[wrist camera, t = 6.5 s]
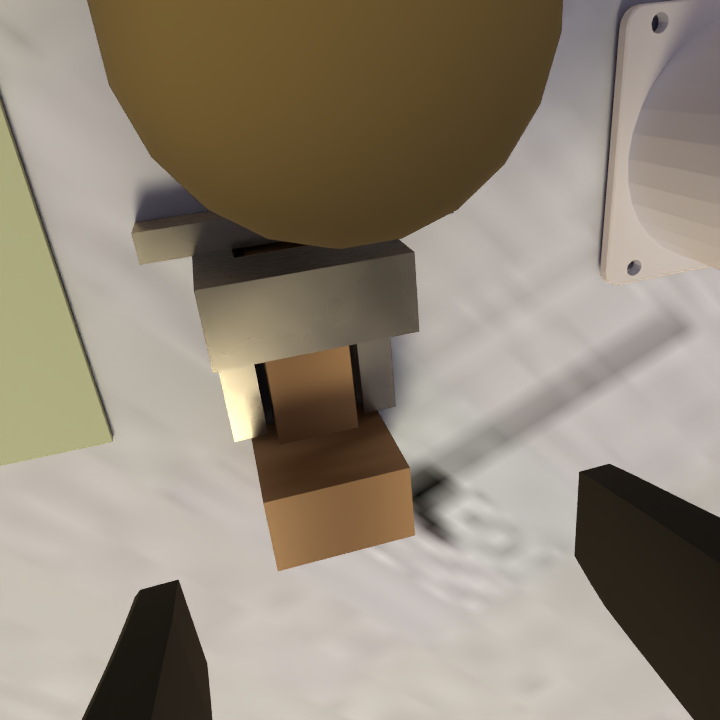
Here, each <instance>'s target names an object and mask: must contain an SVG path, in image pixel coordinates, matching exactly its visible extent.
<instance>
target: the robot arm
mask: <svg viewBox="0 0 720 720" xmlns="http://www.w3.org/2000/svg"><path fill="white" fill-rule="evenodd" d="M655 15H657V16H658V20H659V24H658V27H657V29H656V30H655V32H654V31H653V30H652V25H651V23H652V20H653V17H654V16H655ZM632 261H634V264H633V267H632V268H631V269H630V270H629V271H627V267H628V265H629V264H630V263H631V262H632ZM710 266H711V267H713V268H716V269H719V270H720V0H674V1H665V2H655V3H646V4H638V5H635V6H632V7H630V8H629V9H628V10H627V11H626V12H625V14H624V16H623V17H622V19H621V23H620V28H619V41H618V53H617V66H616V78H615V91H614V104H613V116H612V129H611V141H610V154H609V167H608V179H607V192H606V204H605V217H604V229H603V242H602V255H601V267H600V272H601V276H602V278H603V280H605V281H607V282H609V283H611V284H613V285H619V284H624V283H629V282H634V281H639V280H644V279H649V278H655V277H660V276H665V275H670V274H675V273H680V272H685V271H690V270H695V269H700V268H705V267H710ZM575 557H576V559H577V561H578V563H579V564H580V566H581V568H582V569H583V571H584V573H585V575H586V576H587V578H588V580H589V581H590V583H591V585H592V586H593V588H594V590H595V591H596V593H597V594H598V596H599V598H600V599H601V601H602V602H603V604H604V605H605V607H606V608H607V610H608V611H609V612H610V613H611V615H612V616H613V617H614V619H615V620H616V621H617V623H618V624H619V625H620V626H621V628H622V629H623V630H624V632H625V633H626V634H627V635H628V637H629V638H630V639H631V641H632V642H633V643H634V645H635V646H636V647H637V648H638V650H639V651H640V652H641V653H642V655H643V656H644V657H645V658H646V660H647V661H648V662H649V664H650V665H651V666H652V667H653V669H654V670H655V671H656V672H657V674H658V675H659V676H660V677H661V679H662V680H663V681H664V683H665V684H666V685H667V686H668V688H669V689H670V690H671V691H672V693H673V694H674V695H675V696H676V698H677V699H678V700H679V702H680V703H681V704H682V705H683V707H684V708H685V709H686V710H687V712H688V713H689V714H690V716H691V717H692V718H693V719H694V720H720V517H718V516H715V515H713V514H711V513H709V512H707V511H705V510H703V509H701V508H699V507H697V506H695V505H693V504H691V503H689V502H687V501H685V500H683V499H681V498H679V497H677V496H675V495H673V494H671V493H669V492H667V491H665V490H663V489H661V488H659V487H657V486H655V485H653V484H651V483H649V482H647V481H645V480H643V479H641V478H639V477H637V476H635V475H633V474H630V473H628V472H626V471H624V470H622V469H620V468H618V467H615V466H613V465H611V464H607V465H603V466H599V467H596V468H592V469H588V470H584V471H581V472H579V485H578V503H577V521H576V539H575ZM82 720H212V711H211V698H210V688H209V677H208V667H207V662H206V659H205V656H204V653H203V650H202V647H201V644H200V641H199V638H198V635H197V632H196V630H195V627H194V624H193V621H192V618H191V615H190V612H189V609H188V606H187V603H186V600H185V597H184V594H183V591H182V589H181V586H180V583H179V580H175V581H172V582H168V583H164V584H160V585H157V586H153V587H149V588H146V589H142V590H140V591H139V592H138V594H137V595H136V596H135V598H134V601H133V604H132V606H131V609H130V611H129V614H128V617H127V619H126V622H125V624H124V627H123V629H122V632H121V634H120V636H119V639H118V641H117V644H116V646H115V648H114V651H113V653H112V655H111V657H110V660H109V662H108V664H107V667H106V669H105V671H104V673H103V676H102V678H101V680H100V682H99V684H98V686H97V688H96V691H95V693H94V695H93V697H92V699H91V701H90V703H89V705H88V708H87V710H86V712H85V714H84V716H83V718H82Z"/></svg>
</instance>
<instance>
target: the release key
mask: <svg viewBox="0 0 720 720" xmlns="http://www.w3.org/2000/svg"><path fill="white" fill-rule="evenodd" d="M302 246H308V245H306V244H299V243H292V242H285V241H280V242H274V243H268V244H262V245H256V246H250V247H244V248H242V251H243V256H248V255H254V254H260V253H266V252H272V251H278V250H284V249H290V248H296V247H302ZM264 368H265V373H266V378H267V384H268V389H269V394H270V400H271V405H272V410H273V415H274V421H275V423H272V424H267V425H266V427H267V432H268V435H263V436H259V437H254V438H252V443H253V449H254V454H255V460H256V465H257V470H258V476H259V481H260V487H261V492H262V498H263V503H264V508H265V512H266V517H267V522H268V527H269V531H270V536H271V541H272V545H273V550H274V555H275V559H276V564H277V569H278V571H281V570H284V569H288V568H292V567H296V566H300V565H303V564H307V563H311V562H315V561H319V560H323V559H326V558H330V557H334V556H338V555H342V554H345V553H349V552H353V551H357V550H361V549H364V548H368V547H372V546H376V545H380V544H383V543H387V542H391V541H395V540H399V539H403V538H406V537H410V536H414V535H415V530H414V516H413V503H412V490H411V477H410V467H409V465H408V464H407V462H406V460H405V458H404V457H403V455H402V453H401V451H400V450H399V448H398V446H397V444H396V443H395V441H394V439H393V437H392V435H391V434H390V432H389V430H388V428H387V427H386V425H385V423H384V421H383V420H382V418H381V416H380V414H379V412H378V411H377V410H376V411H372V412H367V413H364V411H363V409H362V407H361V405H360V404H359V405H356V402H355V393H354V385H353V376H352V368H351V359H350V351H349V346H344V347H339V348H334V349H329V350H324V351H319V352H313V353H308V354H303V355H298V356H293V357H288V358H283V359H278V360H273V361H268V362H264Z"/></svg>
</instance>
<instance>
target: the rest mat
mask: <svg viewBox="0 0 720 720" xmlns="http://www.w3.org/2000/svg"><path fill="white" fill-rule="evenodd" d="M109 442H113V436H112V433H111V430H110V427H109V424H108V421H107V418H106V415H105V412H104V409H103V406H102V403H101V400H100V397H99V394H98V391H97V388H96V385H95V382H94V379H93V376H92V373H91V370H90V367H89V364H88V361H87V358H86V355H85V352H84V349H83V346H82V343H81V340H80V337H79V334H78V331H77V328H76V325H75V322H74V319H73V316H72V313H71V310H70V307H69V304H68V301H67V298H66V295H65V292H64V289H63V286H62V283H61V280H60V277H59V274H58V270H57V267H56V264H55V261H54V258H53V255H52V252H51V249H50V246H49V243H48V240H47V237H46V234H45V231H44V228H43V225H42V222H41V219H40V216H39V213H38V210H37V207H36V204H35V201H34V198H33V195H32V192H31V189H30V186H29V183H28V180H27V177H26V174H25V171H24V168H23V165H22V162H21V159H20V156H19V153H18V150H17V147H16V144H15V141H14V138H13V135H12V132H11V129H10V126H9V123H8V120H7V117H6V114H5V111H4V108H3V105H2V102H1V99H0V466H1V465H6V464H11V463H15V462H20V461H25V460H29V459H34V458H39V457H43V456H48V455H53V454H58V453H62V452H67V451H72V450H76V449H81V448H86V447H90V446H95V445H100V444H104V443H109Z"/></svg>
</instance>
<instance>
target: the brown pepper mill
mask: <svg viewBox="0 0 720 720" xmlns="http://www.w3.org/2000/svg"><path fill="white" fill-rule="evenodd" d="M87 1H88V5H89V9H90V13H91V17H92V21H93V25H94V28H95V32H96V36H97V40H98V44H99V48H100V52H101V56H102V59H103V63H104V67H105V71H106V75H107V79H108V83H109V86H110V88H111V89H112V91H113V93H114V94H115V96H116V98H117V99H118V101H119V103H120V105H121V106H122V108H123V110H124V111H125V113H126V115H127V116H128V118H129V120H130V122H131V123H132V125H133V127H134V128H135V130H136V132H137V133H138V135H139V137H140V138H141V140H142V142H143V144H144V145H145V147H146V149H147V150H148V152H149V154H150V155H151V157H152V158H153V159H154V160H155V161H156V162H157V163H158V164H159V165H160V166H161V167H162V168H164V169H165V170H166V171H167V172H168V173H169V174H170V175H171V176H172V177H173V178H174V179H175V180H176V181H177V182H178V183H180V184H181V185H182V186H183V187H184V188H185V189H186V190H187V191H188V192H189V193H190V194H191V195H192V196H193V197H194V198H196V199H197V200H198V201H199V202H200V203H201V204H202V205H203V206H204V207H205V208H206V209H208V210H210V211H212V212H214V213H216V214H218V215H220V216H222V217H224V218H226V219H228V220H230V221H232V222H234V223H236V224H238V225H240V226H243V227H245V228H247V229H249V230H251V231H253V232H255V233H257V234H259V235H261V236H263V237H265V238H267V239H272V240H278V241H285V242H292V243H299V244H306V245H312V246H319V247H326V248H335V249H343V248H349V247H355V246H361V245H367V244H372V243H378V242H384V241H390V240H396V239H402V238H404V237H406V236H407V235H409V234H411V233H413V232H415V231H417V230H419V229H421V228H423V227H425V226H427V225H429V224H431V223H433V222H434V221H436V220H438V219H440V218H442V217H444V216H446V215H448V214H450V213H452V212H454V211H456V210H458V209H459V208H460V207H461V206H462V205H463V204H464V203H465V202H466V201H467V200H468V199H469V198H470V197H471V196H472V195H473V194H474V193H475V192H476V191H477V190H478V189H479V188H480V187H481V186H482V185H483V184H485V183H486V182H487V181H488V180H489V179H490V178H491V177H492V176H493V175H494V174H495V173H496V172H497V171H498V170H499V169H500V168H501V167H502V166H503V165H504V164H505V163H506V161H507V159H508V157H509V156H510V154H511V152H512V151H513V149H514V147H515V146H516V144H517V142H518V141H519V139H520V137H521V136H522V134H523V132H524V131H525V129H526V127H527V126H528V124H529V122H530V120H531V119H532V117H533V115H534V114H535V112H536V110H537V109H538V107H539V105H540V103H541V100H542V96H543V93H544V89H545V86H546V83H547V79H548V76H549V72H550V69H551V66H552V62H553V59H554V55H555V52H556V48H557V45H558V42H559V38H560V35H561V30H562V8H563V0H87Z"/></svg>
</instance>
